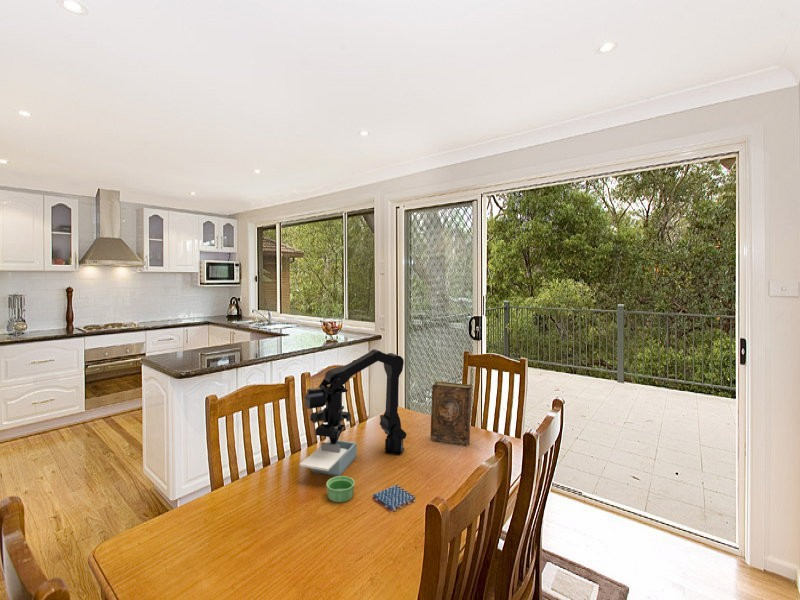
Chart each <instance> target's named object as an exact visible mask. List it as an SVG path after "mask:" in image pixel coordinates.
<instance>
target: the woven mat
mask: <svg viewBox="0 0 800 600" xmlns="http://www.w3.org/2000/svg"><path fill="white" fill-rule="evenodd" d="M401 487H402V486H398V484H395V485H392V486H391V487H388V488H385V489H383V490H380V491H377V492H376V493H374V494H373V495H372V496H371V499H372V500H373V501H374V502H376V503H377V504H379V505H380V506H382V507H383V508H384V509H386V510H387V511H388V512H390V513H391V514H393V513H394V512H396V511H400V509H402V508H404V507H407V506H408V505H410V504H411V505H413V503H415V502H416V497H415V496H414V494H411V492H408V491H407V490H405V489H404V488H401Z"/></svg>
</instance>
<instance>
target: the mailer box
mask: <svg viewBox="0 0 800 600" xmlns="http://www.w3.org/2000/svg"><path fill="white" fill-rule="evenodd" d="M326 443H330V444H331V441H330V439H329V440H328V441H327V442H326ZM336 444H337V445H340V449H346V450H347V452H346V453H345V454H344V455H343V456H342V457H341V458H340V460H339V461H338V462H337V463H336V464H335V465H334V466H333V467H332V468H331V469H330V470H329V471H325V470H319V469H313V468H310V472H311V471H312V472H311V473H318V474H324V475H330V476H333V477H337V476H342V474H343V473H344V472H345V471H346V469H348V467H349V466H350V465H351V464H352V463H353V462H354V460H355V459H357V456H358V455H357V454H358V451H357V449H358V448H357V446H358V443H357V442H352V441H347V440H346V441H345V440H340V439H338V441H337V443H336Z"/></svg>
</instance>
